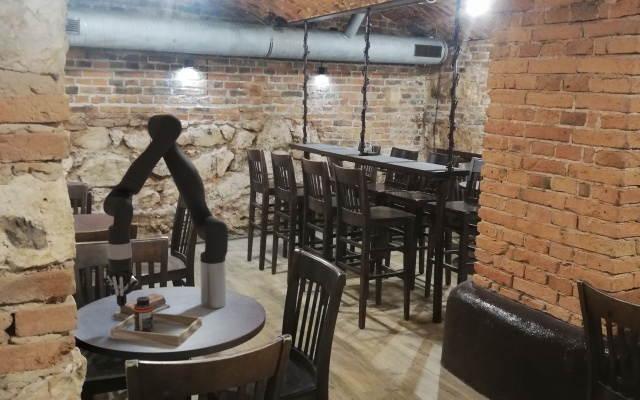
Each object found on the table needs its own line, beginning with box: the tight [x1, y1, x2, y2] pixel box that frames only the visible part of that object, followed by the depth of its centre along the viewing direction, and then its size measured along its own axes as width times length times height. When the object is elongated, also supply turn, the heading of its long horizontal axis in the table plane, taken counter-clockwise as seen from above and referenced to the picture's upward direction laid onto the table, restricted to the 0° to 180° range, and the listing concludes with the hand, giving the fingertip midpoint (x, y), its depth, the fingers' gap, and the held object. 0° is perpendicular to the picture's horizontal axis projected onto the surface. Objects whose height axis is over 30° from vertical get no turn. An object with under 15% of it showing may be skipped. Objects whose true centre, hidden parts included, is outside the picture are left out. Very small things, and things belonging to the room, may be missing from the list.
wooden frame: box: [110, 312, 203, 346], centre depth 215 cm, size 18×24×3 cm
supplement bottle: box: [134, 296, 154, 333], centre depth 215 cm, size 6×6×11 cm
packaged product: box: [113, 293, 171, 320], centre depth 234 cm, size 18×5×10 cm
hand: (121, 305), depth 216 cm, fingers closed
